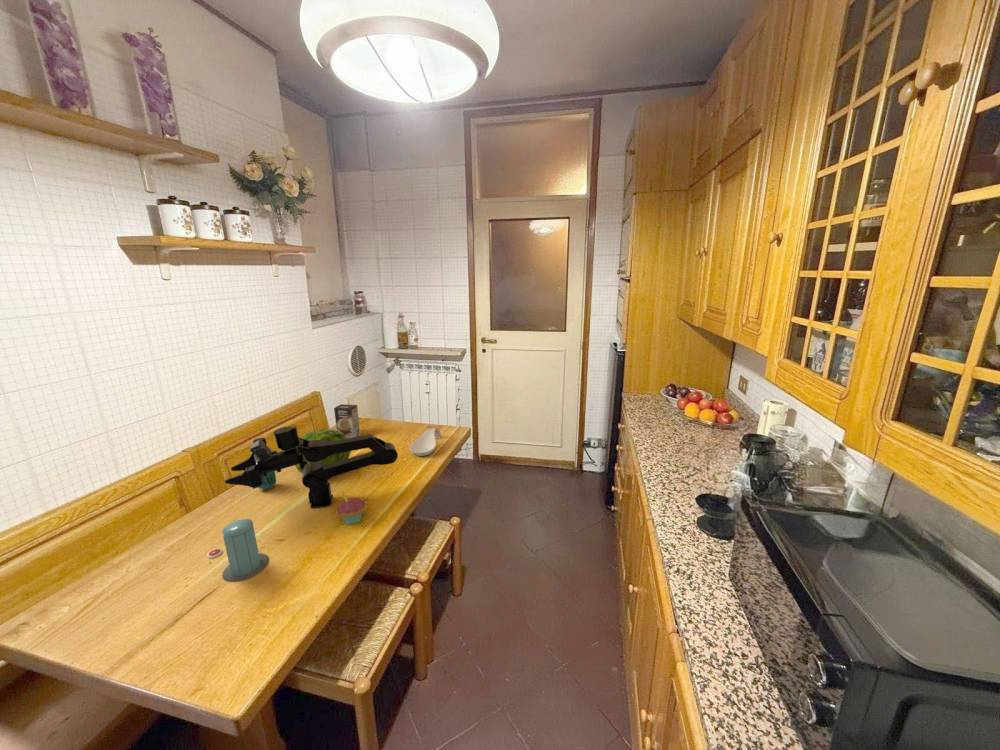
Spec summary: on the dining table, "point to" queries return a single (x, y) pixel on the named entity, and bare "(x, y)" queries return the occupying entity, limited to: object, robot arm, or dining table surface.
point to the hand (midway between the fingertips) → (228, 475)
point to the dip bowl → (214, 553)
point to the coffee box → (347, 420)
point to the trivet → (231, 578)
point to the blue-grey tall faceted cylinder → (241, 547)
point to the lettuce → (328, 436)
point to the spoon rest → (425, 443)
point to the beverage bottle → (271, 477)
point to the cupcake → (351, 509)
